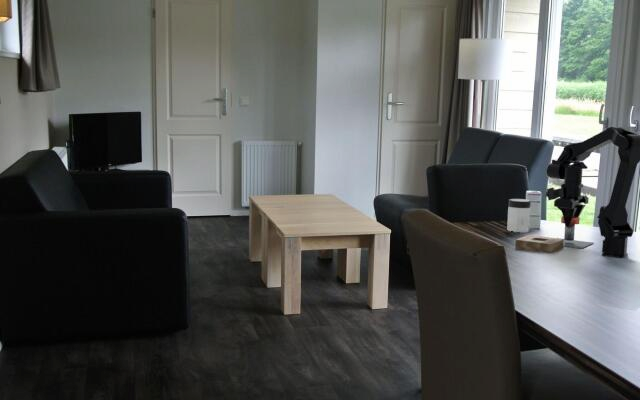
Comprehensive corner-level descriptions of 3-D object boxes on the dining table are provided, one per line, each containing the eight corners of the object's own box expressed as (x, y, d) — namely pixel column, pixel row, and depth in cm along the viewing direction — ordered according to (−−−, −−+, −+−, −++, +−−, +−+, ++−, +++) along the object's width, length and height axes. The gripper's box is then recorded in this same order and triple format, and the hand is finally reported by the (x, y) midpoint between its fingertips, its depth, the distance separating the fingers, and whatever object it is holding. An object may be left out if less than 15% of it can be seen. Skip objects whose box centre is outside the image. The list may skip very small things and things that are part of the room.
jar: (511, 232, 263) (513, 201, 261) (502, 229, 271) (504, 198, 269) (533, 232, 264) (535, 201, 263) (524, 229, 272) (526, 198, 271)
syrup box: (540, 228, 273) (542, 192, 271) (525, 228, 274) (527, 191, 272) (539, 226, 279) (541, 190, 277) (523, 225, 280) (525, 190, 278)
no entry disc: (563, 237, 246) (564, 214, 245) (580, 239, 242) (582, 216, 241) (557, 239, 241) (559, 216, 240) (574, 242, 238) (576, 218, 237)
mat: (593, 243, 243) (593, 242, 243) (581, 249, 233) (582, 247, 233) (556, 239, 251) (556, 237, 251) (543, 244, 241) (543, 242, 241)
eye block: (563, 247, 234) (563, 239, 234) (550, 253, 225) (551, 244, 225) (528, 243, 242) (529, 234, 241) (515, 248, 232) (515, 239, 232)
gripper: (558, 177, 251) (556, 220, 253) (540, 181, 237) (537, 226, 239) (590, 180, 245) (587, 223, 247) (573, 183, 230) (570, 229, 232)
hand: (570, 225), depth 241 cm, fingers closed on no entry disc, 6 cm apart
